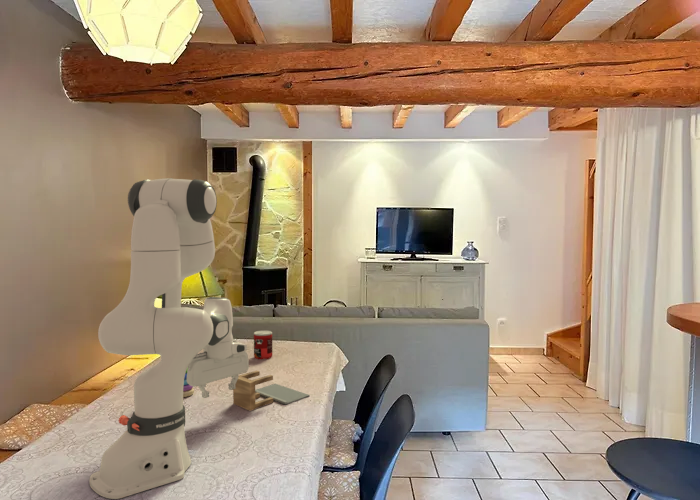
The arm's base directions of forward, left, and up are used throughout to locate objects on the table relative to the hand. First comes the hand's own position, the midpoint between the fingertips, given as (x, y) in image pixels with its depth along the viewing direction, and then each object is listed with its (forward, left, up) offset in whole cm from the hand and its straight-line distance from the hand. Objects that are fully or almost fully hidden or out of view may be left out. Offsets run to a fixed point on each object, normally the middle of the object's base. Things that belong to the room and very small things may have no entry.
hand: (219, 393), depth 154 cm
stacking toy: (+2, +25, -7) cm, 26 cm away
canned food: (+50, +41, -7) cm, 65 cm away
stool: (+13, 0, -7) cm, 15 cm away
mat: (+24, 0, -7) cm, 25 cm away
